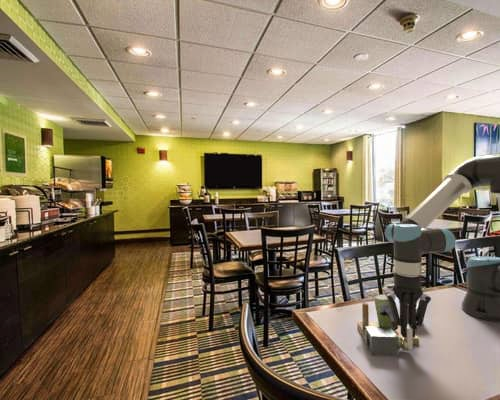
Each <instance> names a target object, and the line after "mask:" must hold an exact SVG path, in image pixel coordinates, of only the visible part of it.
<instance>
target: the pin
mask: <svg viewBox="0 0 500 400" xmlns="http://www.w3.org/2000/svg"><path fill="white" fill-rule="evenodd" d="M398 348H399V349H401V350H402V351H404V352H407V351H409V349H408V344H407V341H406V339H405V338H400V340H398Z"/></svg>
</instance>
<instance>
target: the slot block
mask: <svg viewBox="0 0 500 400" xmlns="http://www.w3.org/2000/svg"><path fill="white" fill-rule="evenodd" d="M365 339H366V341H365V346H366V348H367V350H368V351H369V354H370V355H371V356H377V357H395V358H396V357H400V355H399V352H400V351H399V349H400V348H398V336H397V335H396V333H395V332H394V331H393V330H392V328H391V327H372V326H365Z"/></svg>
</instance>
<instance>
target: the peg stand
mask: <svg viewBox="0 0 500 400" xmlns="http://www.w3.org/2000/svg"><path fill="white" fill-rule="evenodd" d="M361 305H362V317H361V318H362V321H357V325H356V326H357V329H358V331H359V332H360V335H361V336H362V338H363V340H364V341H365V342H366V339H365V326H372V327H379V322H378V321H377V322H375V321H369V316H370V315H369V303H367V302H362V303H361ZM407 324H408V325H409V323H408V307H407ZM394 332H395V333H396V335H397V336H398V340H400V338H404V337H403V336H402V335H401V326H398V329H397V330H395V331H394ZM413 345H420V337H418V336H417V335H416V334H415V337H413Z"/></svg>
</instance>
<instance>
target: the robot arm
mask: <svg viewBox="0 0 500 400" xmlns="http://www.w3.org/2000/svg"><path fill="white" fill-rule="evenodd" d="M478 187H489V192H490V194H492V195H494V196H495V197H496V198H497V199H496V200H497V203H498V204H497V205H498V211H499V213H500V152H497V153H489V154H483V155H482V154H481V155H478V156H474V157H471V158H469V159H467V160H465V161H464V162H462V163H461V164H459V165H458V166H456V167H455V168H453V169H452V170H451V171H450V172H449V173H448V174H446V176H444V180H443V182H441V184H440V185H438V186H437V187H436V188H435V189H434V190H433V191H432V192H431V193H430V194H429V195H428V196H427V197H426V198H425V199H424V200H422V201H421V202H420V203H419V204H418V205H417V206H416V207H415V208H414V209H413V210H411V211H410V212H409V213H408V214H407V215H406V216H405V217H404V218H402V220H401V221H400V222H398V223H397V222H394V223H390V224H388V225H386V228H385V230H384V236H385V238H386V240H388V242H390V243H393V272H394V273H393V284H394V285H393V288H392V291H391V292H389V293H385V296H386V297H387V299H388V300H389V303H390V307H391V311H392V315H393V318H394V321H395V322H396V324H397V325H398V326H401V335H402V336H403V337H404V338H405V339H406V341H407V344H408V350H413V345H414V344H413V337H415V335H416V330H418V327H422V326H423V325H424V319H425V315H426V312H427V308H428V305H429V303H430V302H431V301H432V298H431V297H430V296H429V294H427V293H424V290H423V289H422V286H423V285H422V284H423V283H422V282H423V280H422V277H423V276H422V274H423V273H422V270H423V269H422V267H423V266H422V258H423V257H422V255H424V254H436V253H437V254H438V253H445V252H450V251H452V250H454V249H455V247H456V244H457V243H456V237H455V235H454V233H453V232H452V231H450V230H449V229H447V228H438V227H437V228H428V227H429V226H431V224H432V223H434V222H435V220H436V219H438V217H440V216H441V214H443V213H444V212H445V211H447V209H448V208H449V207H450V206H452V205H453V204H454V203H455V202H456V201H457V200H458V199H459V198H460V197H462V195H463V194H467V193H470V191H472V190H473V189H474V188H478ZM466 261H467V264H466V293H465V294H464V298H463V299H462V300H463V301H462V302H461V309H462V311H463V312H465V313H466V314H468V315H469V316H472V317H476V318H479V319H482V320H485V321H491V322H497V321H500V257H497V256H471V257H469V258H468V259H467V260H466ZM396 298H397V299H398V302H399V309H398V306H397V304H396ZM417 303H419V304H418V308H417V312H416V307H417ZM407 307H408V323H409V325H408V324H407ZM398 310H399V311H398ZM422 324H423V325H422Z"/></svg>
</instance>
